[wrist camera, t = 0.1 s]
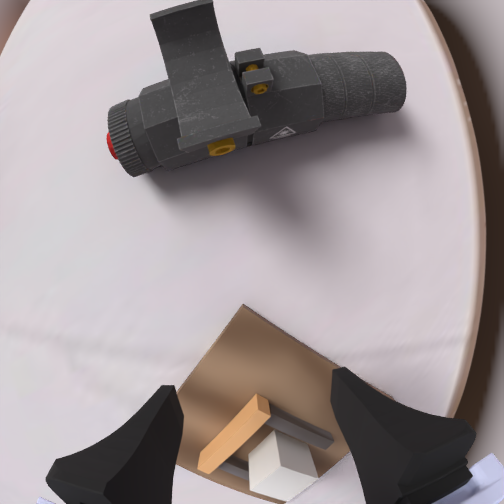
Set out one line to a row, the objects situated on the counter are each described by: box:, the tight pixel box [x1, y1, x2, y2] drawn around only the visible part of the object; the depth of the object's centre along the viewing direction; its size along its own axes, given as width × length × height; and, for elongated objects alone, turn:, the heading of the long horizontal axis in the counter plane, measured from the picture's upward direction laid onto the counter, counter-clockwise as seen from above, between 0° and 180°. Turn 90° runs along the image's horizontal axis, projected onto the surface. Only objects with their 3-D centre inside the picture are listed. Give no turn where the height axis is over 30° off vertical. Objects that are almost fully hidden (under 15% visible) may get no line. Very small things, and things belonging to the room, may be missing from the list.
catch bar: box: [197, 393, 271, 474], centre depth 20 cm, size 9×1×2 cm, turn 144°
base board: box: [176, 304, 395, 504], centre depth 21 cm, size 18×18×2 cm
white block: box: [248, 430, 319, 502], centre depth 19 cm, size 4×4×5 cm
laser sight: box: [107, 0, 406, 177], centre depth 16 cm, size 10×22×10 cm, turn 107°
